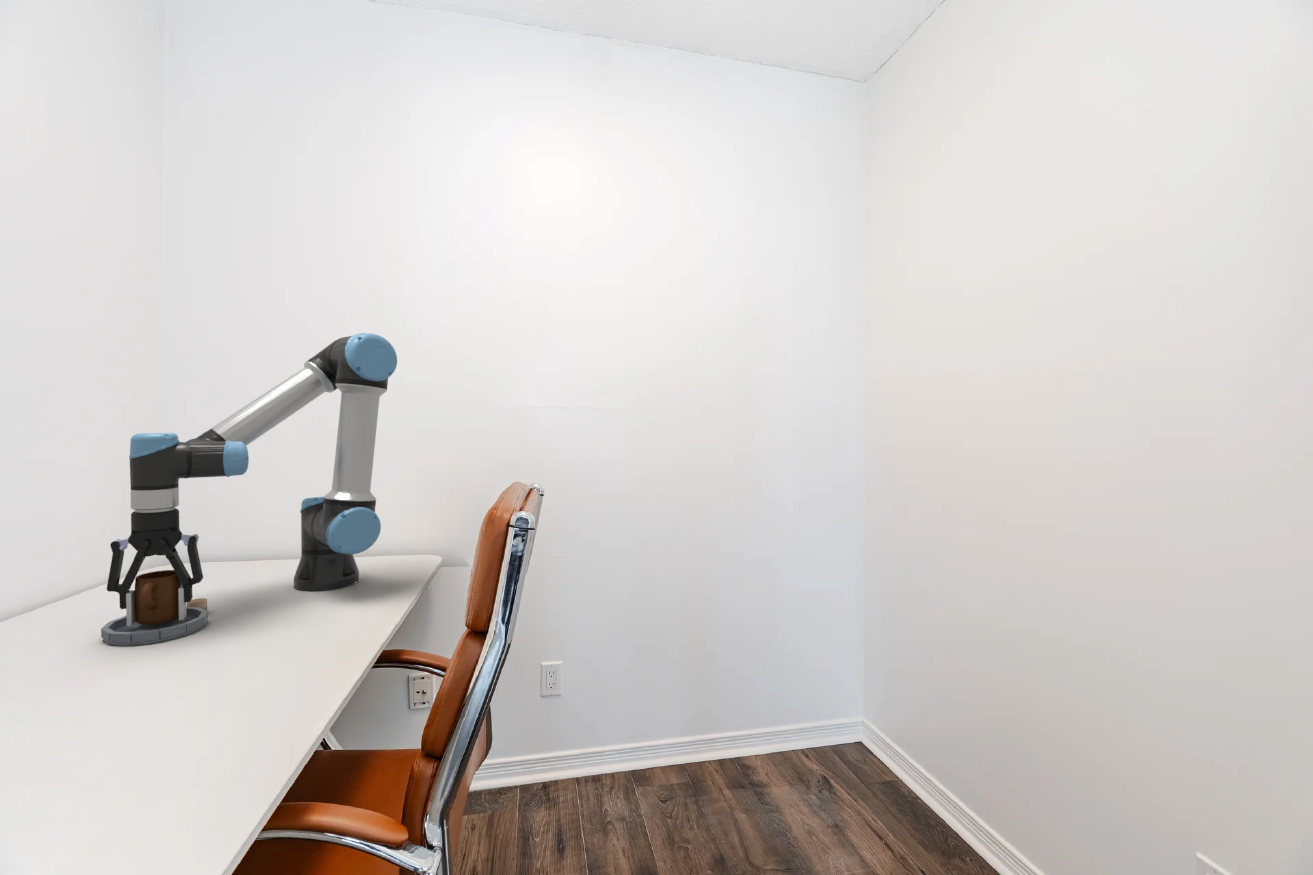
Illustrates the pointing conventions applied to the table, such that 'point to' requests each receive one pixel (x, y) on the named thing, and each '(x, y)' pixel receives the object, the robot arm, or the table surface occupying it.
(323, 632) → the table surface
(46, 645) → the table surface
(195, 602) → the bead
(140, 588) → the mug
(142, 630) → the saucer
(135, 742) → the table surface
